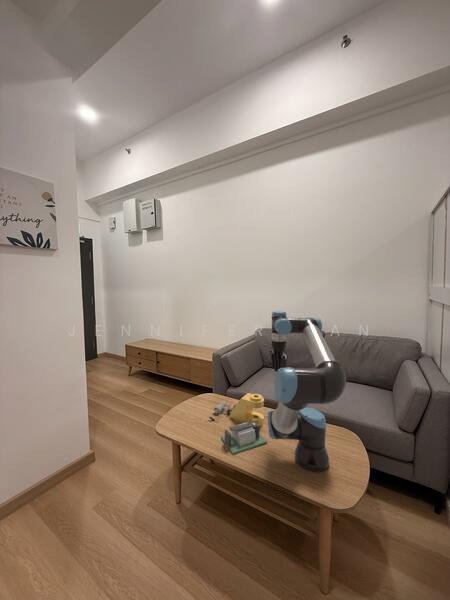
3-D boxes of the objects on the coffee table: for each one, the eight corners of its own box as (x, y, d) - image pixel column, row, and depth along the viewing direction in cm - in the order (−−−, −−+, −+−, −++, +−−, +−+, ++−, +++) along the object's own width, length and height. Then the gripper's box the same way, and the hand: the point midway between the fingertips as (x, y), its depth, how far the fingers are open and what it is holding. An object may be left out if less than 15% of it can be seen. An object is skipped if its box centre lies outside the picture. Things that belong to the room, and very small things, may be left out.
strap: (252, 423, 134) (252, 421, 134) (256, 427, 131) (256, 425, 131) (228, 428, 128) (228, 425, 128) (231, 432, 124) (232, 429, 124)
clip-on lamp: (221, 429, 146) (237, 410, 160) (221, 420, 144) (236, 402, 158) (206, 421, 152) (222, 403, 166) (205, 413, 150) (221, 395, 164)
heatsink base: (252, 428, 141) (252, 416, 140) (267, 443, 128) (267, 429, 128) (221, 438, 132) (221, 424, 132) (232, 454, 120) (232, 439, 119)
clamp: (266, 420, 149) (266, 395, 148) (259, 428, 141) (259, 401, 140) (237, 411, 160) (237, 387, 159) (230, 417, 153) (230, 392, 151)
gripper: (292, 342, 127) (291, 386, 128) (276, 337, 139) (276, 377, 140) (280, 343, 124) (280, 389, 125) (265, 338, 135) (265, 380, 137)
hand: (278, 383), depth 133 cm, fingers closed
